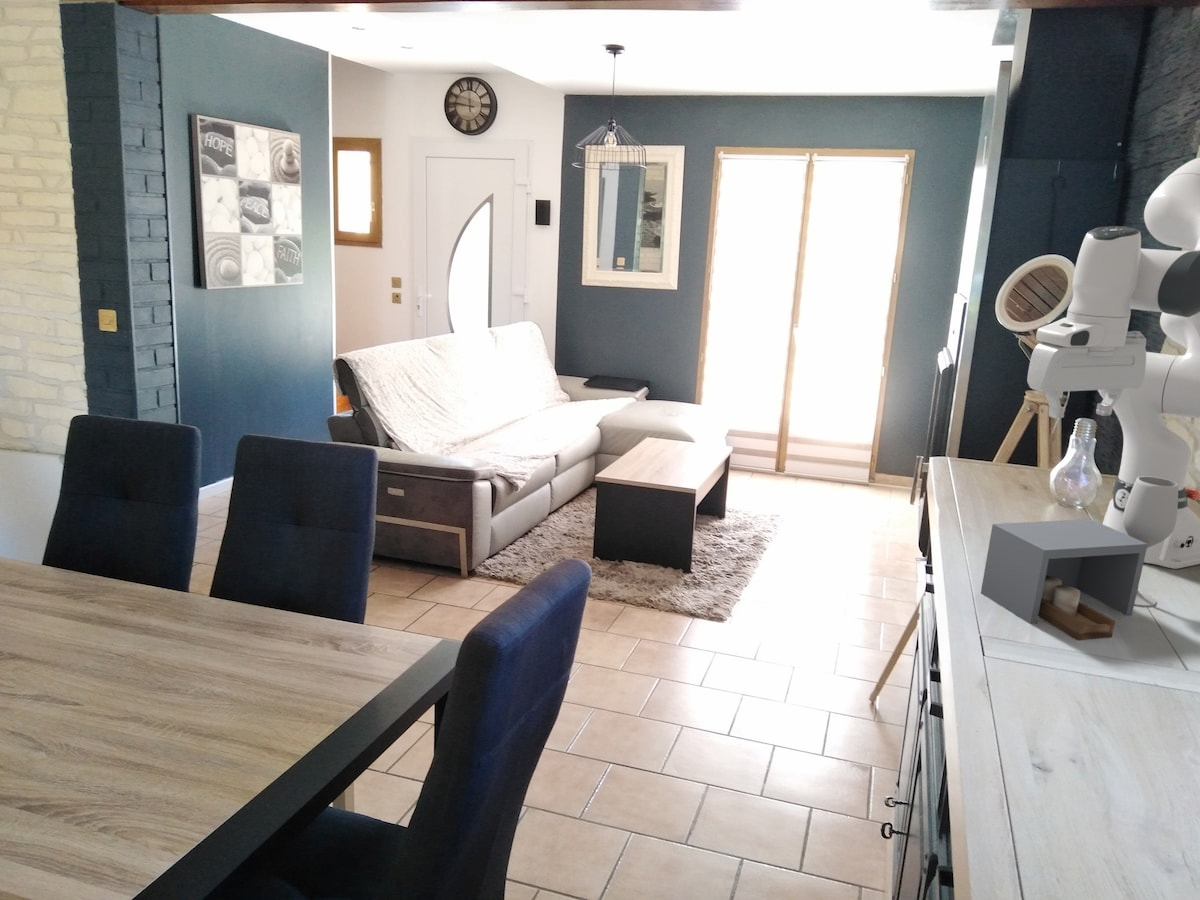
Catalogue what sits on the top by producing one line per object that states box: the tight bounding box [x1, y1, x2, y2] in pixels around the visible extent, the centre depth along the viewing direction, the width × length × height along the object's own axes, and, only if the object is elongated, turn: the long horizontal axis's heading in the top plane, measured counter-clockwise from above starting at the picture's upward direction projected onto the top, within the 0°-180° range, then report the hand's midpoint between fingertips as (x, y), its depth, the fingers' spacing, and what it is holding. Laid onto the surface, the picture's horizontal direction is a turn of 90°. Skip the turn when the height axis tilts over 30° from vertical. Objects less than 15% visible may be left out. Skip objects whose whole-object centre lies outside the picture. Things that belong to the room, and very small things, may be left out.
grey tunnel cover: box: [980, 518, 1148, 625], centre depth 149 cm, size 20×12×12 cm, turn 105°
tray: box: [1038, 576, 1116, 641], centre depth 144 cm, size 6×14×5 cm, turn 15°
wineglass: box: [1123, 476, 1178, 608], centre depth 152 cm, size 8×8×21 cm
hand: (1079, 416), depth 147 cm, fingers open, 8 cm apart
